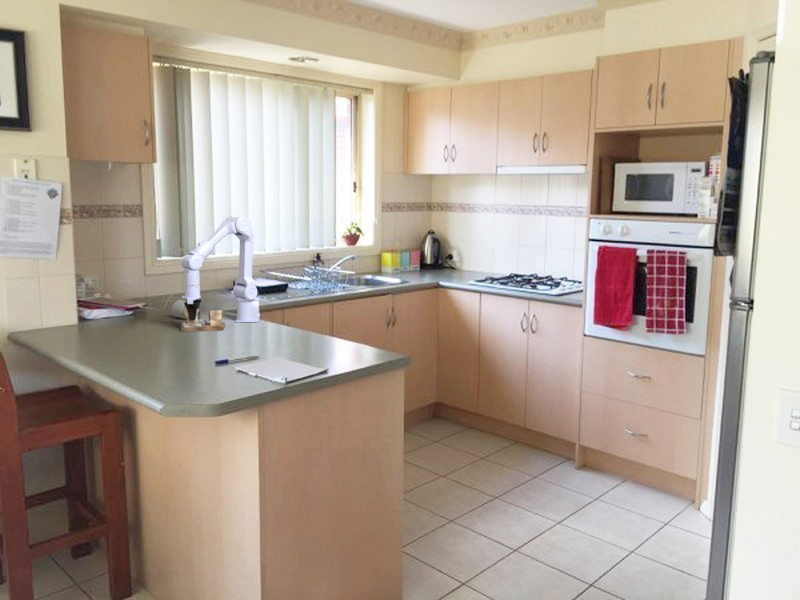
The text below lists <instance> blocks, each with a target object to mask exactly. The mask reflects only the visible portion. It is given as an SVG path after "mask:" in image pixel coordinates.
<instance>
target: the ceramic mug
mask: <svg viewBox="0 0 800 600" xmlns="http://www.w3.org/2000/svg"><path fill="white" fill-rule="evenodd" d="M185 302H187V300H186V301H185V300H183V299H178V300H176V301H175V302H173V304H172V307H171V312H172V315H173V316H174V317H176V318H178V319H184V320H187V309H186V307H185V305H184V303H185Z"/></svg>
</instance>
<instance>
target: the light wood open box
mask: <svg viewBox="0 0 800 600" xmlns="http://www.w3.org/2000/svg"><path fill="white" fill-rule="evenodd" d="M222 315H223V310H221V309H220V310H219V309H215V310H214V309H211V310H210V311H209V312H208V321H209V322H207V319H199V323H198V324H187V319H184V321H183V322H182V323H181V327H180V332H214V331H215V332H217V331H218V332H221V331H222V332H223V331H224V330H225V327H226V322H223V316H222Z"/></svg>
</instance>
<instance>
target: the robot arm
mask: <svg viewBox="0 0 800 600" xmlns="http://www.w3.org/2000/svg"><path fill="white" fill-rule="evenodd" d="M252 230H253V229H252V225H251V222H250V221H249V220H248V219H247V218H246V217H239V216H238V217H237V216H231V215H230V216H227V217H226V218H225V219H224V220H223V221H222V222H221V223H220V226H219V227H218V228H216V230H215V232H214V231H213V234H212V235H211V236H210V237H209V238H208V239H207V240H202V241H199V242H198V243H197V246H196V247H195V248H194V249H193V250H190V251H189V254H185V255H184V256H183V258H182V260H181V261H180V265H181V266H182V268H183V272H184V274H183V275H184V295H182V296H181V298H182V299H185V300H186V302H185V303H184V305H185V307H186V309H187V311H188V316H189V319H190V320H195V319H196V313H197V309H199V308H200V305H201V303H202V297H201V284H200V281H201V280H200V279H201V278H200V275H201V274H200V269H201V268H202V266H203V262H204V261H205V260H206V259H207V258H208V257H209V256H210V255H211V254H212V253H213V252H214V247H216V245H217V244H219V242H221V241H222V239H224V238H225V237H226V236H227V235H235V237H237V238H238V240H239V261H238V262H239V263H238V277H237V278H236V279H235V280H234V281H235V282H234V287H233V289H232V293H233V296H234V297H235V299H236V319H235V323H259V322H258V321H260V317H261V313H260V300H259V299H256V298H257V296H258V289H257V282H256V281H255V279H254V278H253V261H254V260H253V258H254V233H253V231H252Z"/></svg>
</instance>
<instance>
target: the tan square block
mask: <svg viewBox="0 0 800 600" xmlns="http://www.w3.org/2000/svg"><path fill="white" fill-rule="evenodd" d="M186 320H187V324H198V323H199V320H201V310H199V309H197V313H196V319H195V320H190V319H189V316H188V311H187V319H186Z"/></svg>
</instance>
